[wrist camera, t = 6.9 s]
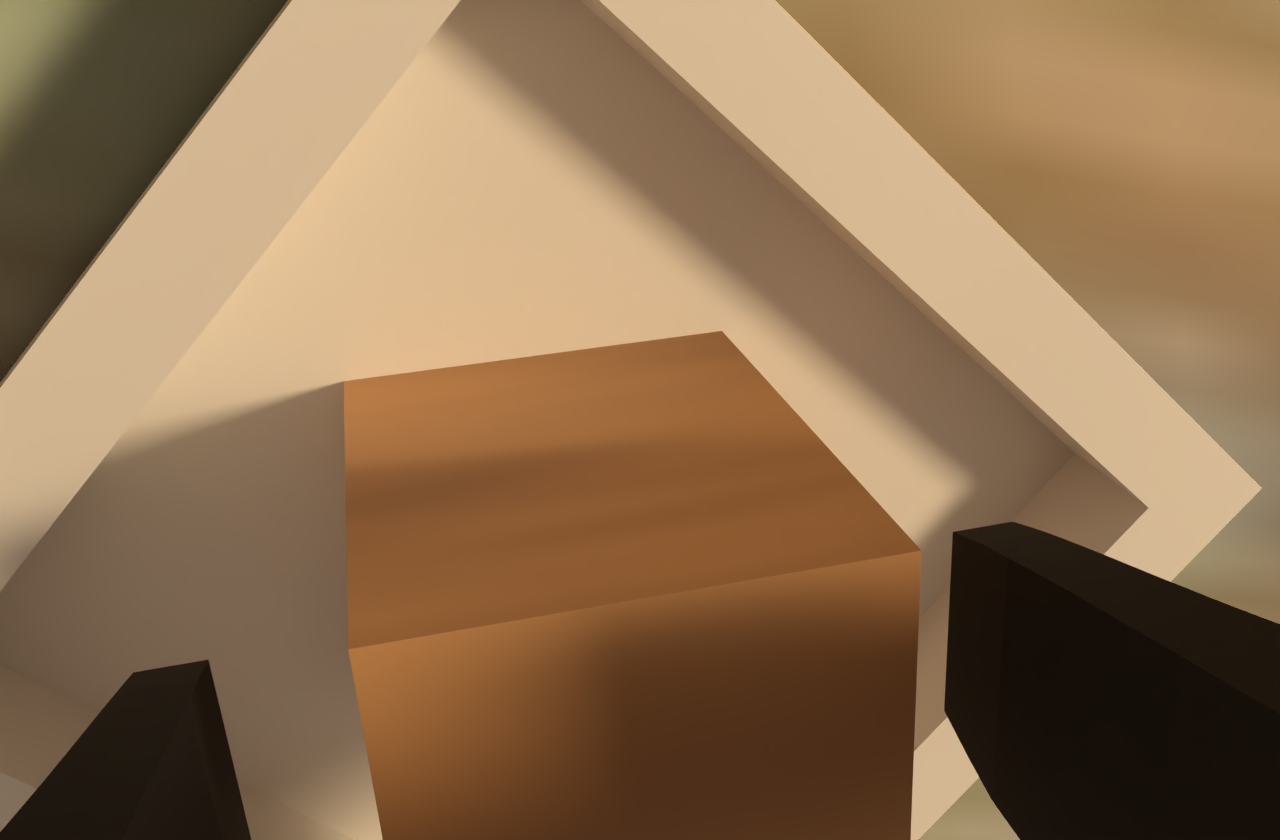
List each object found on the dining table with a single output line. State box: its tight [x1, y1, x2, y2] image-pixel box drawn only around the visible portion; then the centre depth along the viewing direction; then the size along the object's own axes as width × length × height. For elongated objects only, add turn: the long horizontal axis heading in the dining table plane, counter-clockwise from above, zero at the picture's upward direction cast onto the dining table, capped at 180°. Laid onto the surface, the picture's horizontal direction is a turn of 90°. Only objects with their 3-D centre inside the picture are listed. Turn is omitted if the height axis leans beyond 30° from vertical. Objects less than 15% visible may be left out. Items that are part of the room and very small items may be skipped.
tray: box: [0, 0, 1262, 840], centre depth 13 cm, size 11×11×2 cm
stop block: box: [344, 331, 921, 840], centre depth 11 cm, size 4×4×5 cm
